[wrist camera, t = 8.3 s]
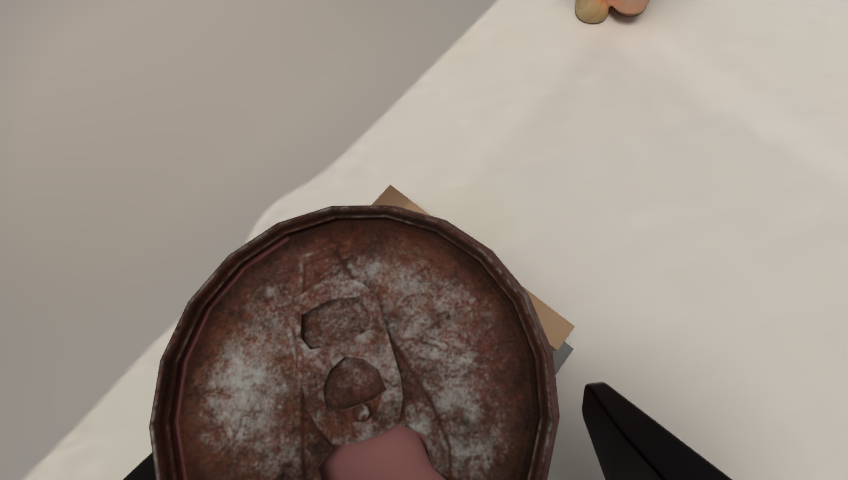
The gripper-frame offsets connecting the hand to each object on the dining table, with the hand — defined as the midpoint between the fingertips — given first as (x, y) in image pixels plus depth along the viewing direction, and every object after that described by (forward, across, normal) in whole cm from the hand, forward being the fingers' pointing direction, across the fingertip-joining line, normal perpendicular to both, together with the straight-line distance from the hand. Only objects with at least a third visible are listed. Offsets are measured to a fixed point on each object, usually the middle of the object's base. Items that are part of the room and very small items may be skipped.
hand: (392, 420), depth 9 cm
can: (+8, 0, +6) cm, 10 cm away
